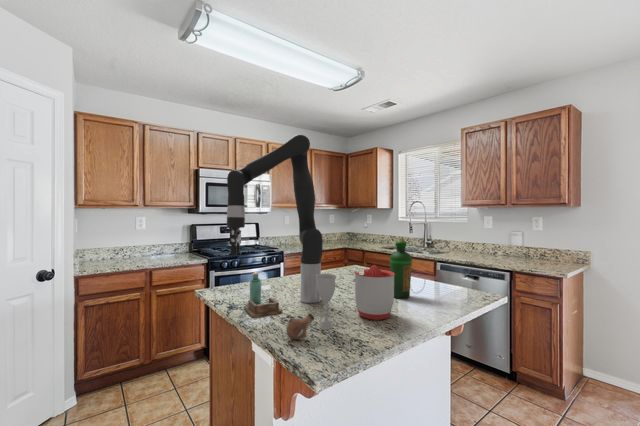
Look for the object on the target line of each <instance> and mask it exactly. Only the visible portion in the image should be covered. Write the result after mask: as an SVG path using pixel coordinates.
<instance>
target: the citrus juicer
mask: <svg viewBox="0 0 640 426" xmlns="http://www.w3.org/2000/svg"><path fill="white" fill-rule="evenodd" d="M353 272H354V279H352V283H354V297H355V298H354V299H355V305H356V309H357V312H358V314H359V316H360V317H362V318H364V319H367V320H373V321H378V320H385V319H388V318H389V317H390V315H391V313H392V309H393V306H394V301H395V298H394V275H395V273H394V272H391V271H390V270H386V269H380V268H379V267H378V266H377V265H376V264H373V265H372V266H370V267H369V268H366V269H365V268H364V270H363V274H360V272H358V271H353Z"/></svg>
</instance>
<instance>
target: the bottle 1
mask: <svg viewBox="0 0 640 426" xmlns="http://www.w3.org/2000/svg"><path fill="white" fill-rule="evenodd" d="M249 300H252V301H253V302H254V303H255V304H256V305H259V304H262V280H261V279H260V278H259V272H257V271H256V272H255V271H254V272H252V278H251V279H250V281H249Z"/></svg>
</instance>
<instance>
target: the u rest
mask: <svg viewBox="0 0 640 426" xmlns="http://www.w3.org/2000/svg"><path fill="white" fill-rule="evenodd" d="M243 309H244V311H245V312H246V313H247V314H249V316H251V318H254V319H255V318H260V317H267V316H272V315H280V314H283V310H282V309H281V308H280V302H279V301H277V300H276V299H274V298H273V297H268V303H259V304H255V303H254V302H253V301H252V300H250V299H249V300H248V306H244V308H243Z"/></svg>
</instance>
